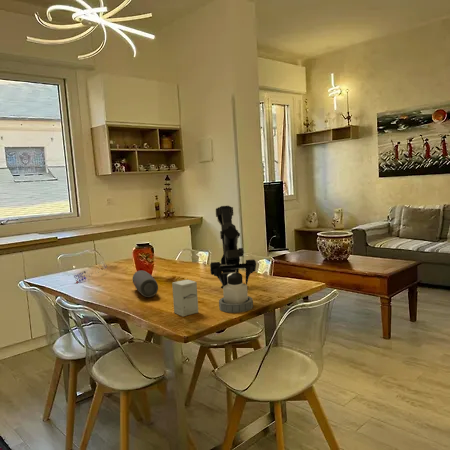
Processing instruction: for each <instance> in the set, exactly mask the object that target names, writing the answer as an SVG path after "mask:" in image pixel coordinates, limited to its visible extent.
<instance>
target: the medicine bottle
mask: <svg viewBox="0 0 450 450" xmlns="http://www.w3.org/2000/svg"><path fill="white" fill-rule="evenodd" d="M227 282H228V284H227V285H225V286H224V287H223V288H222V292H223V297H224V303H227V304H240V303H244V302H246V301H247V300H248V296H249V294H248V283H247V284H246V283H243V282H244V281H243V274H242V273H240V272H239V273H236V272H234V273H230V274H228V276H227Z"/></svg>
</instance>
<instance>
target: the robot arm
mask: <svg viewBox="0 0 450 450" xmlns="http://www.w3.org/2000/svg"><path fill="white" fill-rule="evenodd" d="M233 216H234V207H233V206H230V205H221V206H218V207H216V208H215V217H216V218H217V222H218V223H219V225H220V229H221V230H220V231H219V237H220V240H222V251H223V255H222V257H221V260H220V261H214V262H213V261H212V262H210V265H209V266H210V268H209V269H210V275H212V276H214V277H217V279H218V280H219V281H220V283H221V286H220V288H221V289H223V287H224V286H225V285H227V284H228V282H227V276H228V274H230V273H234V272H236V273H240V272H239V270H240V269H245V284H247V285H248V282H249V278H250V275H251V274H253V273H254V272H256V269H257V261H256V260H255V259H253V258H252V259H245V262H244V263H241V257H244V248H243V247H238V242H239V241H238V240H239V238H240V237H241V233H240V232H239V230H238V229H237V228H236V225H235V224H234V223H233V221H232V220H233Z"/></svg>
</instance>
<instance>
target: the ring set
mask: <svg viewBox="0 0 450 450" xmlns="http://www.w3.org/2000/svg"><path fill="white" fill-rule="evenodd" d="M103 262H105V261H104V260H103V261H102V262H100V264H99V263H98V266H100V265H101V267H103V268H101V269H97V271H95V274H97V273H99V271H100V270H101V271H103V269H104V270H105V269H106V268H108V266H107V264H105V263H103ZM86 274H87V271H84V270H83V272H81V273H78V274H76V275H74V276H73V278H74V279H75V281H76V282H75V283H76V284H79V283H81V282H83V281H84V280H85V281H86V280H87V277H86ZM91 275H93V272H92V273H90V275H88V277H91Z"/></svg>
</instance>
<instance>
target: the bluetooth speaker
mask: <svg viewBox="0 0 450 450" xmlns="http://www.w3.org/2000/svg"><path fill="white" fill-rule="evenodd" d="M132 283H133V286H134V287H135V289H136V290H137V291H138V292H139V294H141V296H143V297H145V298H151V297H154V296H156V295H157V293H158V291H159V284H158V282H157V280H156V279H155V278H154V277H153V276H152V274H151V273H149V272H147V271H146V270H140V269H139V270H137V271H136V272H134V273H133V276H132Z"/></svg>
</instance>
